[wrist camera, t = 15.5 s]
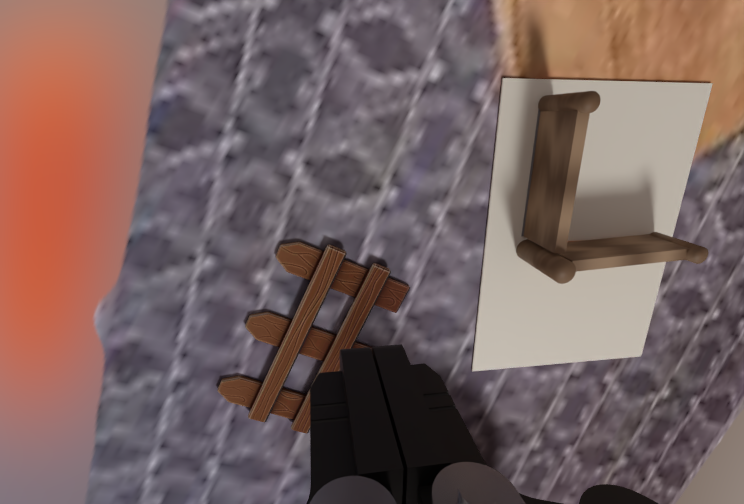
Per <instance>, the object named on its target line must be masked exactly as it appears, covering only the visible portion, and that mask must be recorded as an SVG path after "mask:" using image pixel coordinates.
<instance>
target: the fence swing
mask: <svg viewBox="0 0 744 504" xmlns="http://www.w3.org/2000/svg"><path fill="white" fill-rule="evenodd" d="M556 254H558V255H560V256H562V257H563V258H565V259H567V260H569V261H571V262H572V263H574V265H575V266H576V272H577V271H586V270H595V269H604V268H613V267H622V266H631V265H641V264H650V263H659V262H668V261H677V260H688V261H691V262H693V263H696V264H699V263H702V262H703V261H705V259H706V258H707V256H708V250H707V249H706V248H704V247H701V246H698V245H695V244H692V243H689V242H686V241H683V240H680V239H677V238H674V237H671V236H668V235H664V234H661V233H658V232H652V233H650V234H645V235H635V236H625V237H615V238H605V239H595V240H585V241H574V242H567V247H566V253H556Z"/></svg>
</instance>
